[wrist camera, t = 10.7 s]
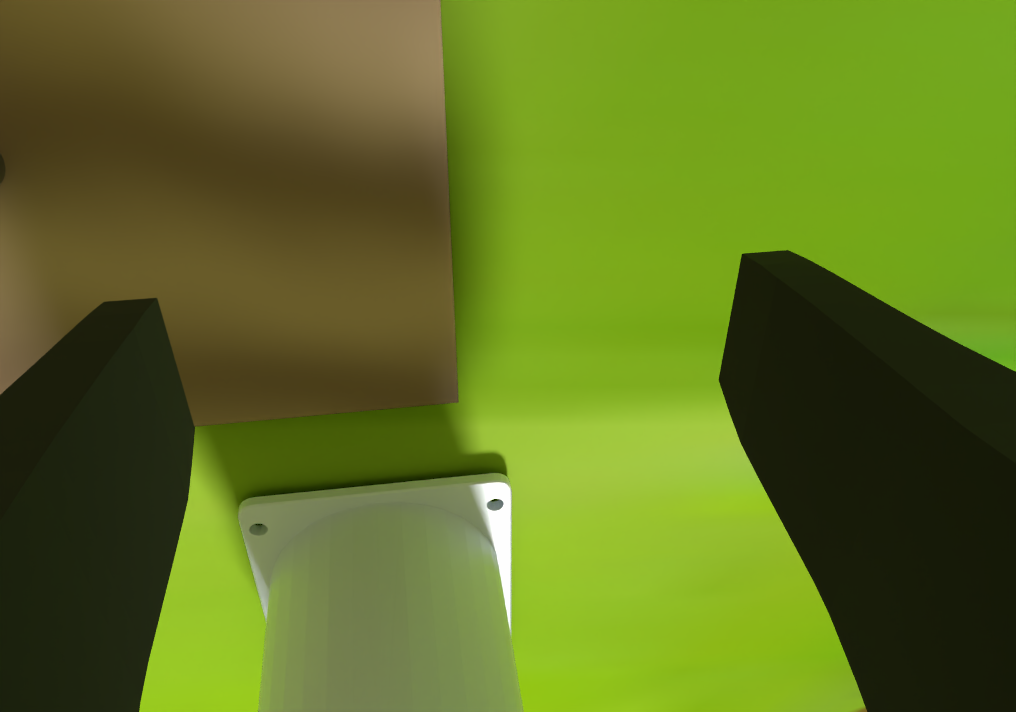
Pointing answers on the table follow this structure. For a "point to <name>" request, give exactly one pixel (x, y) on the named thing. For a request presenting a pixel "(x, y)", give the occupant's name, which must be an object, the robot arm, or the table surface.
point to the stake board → (234, 194)
